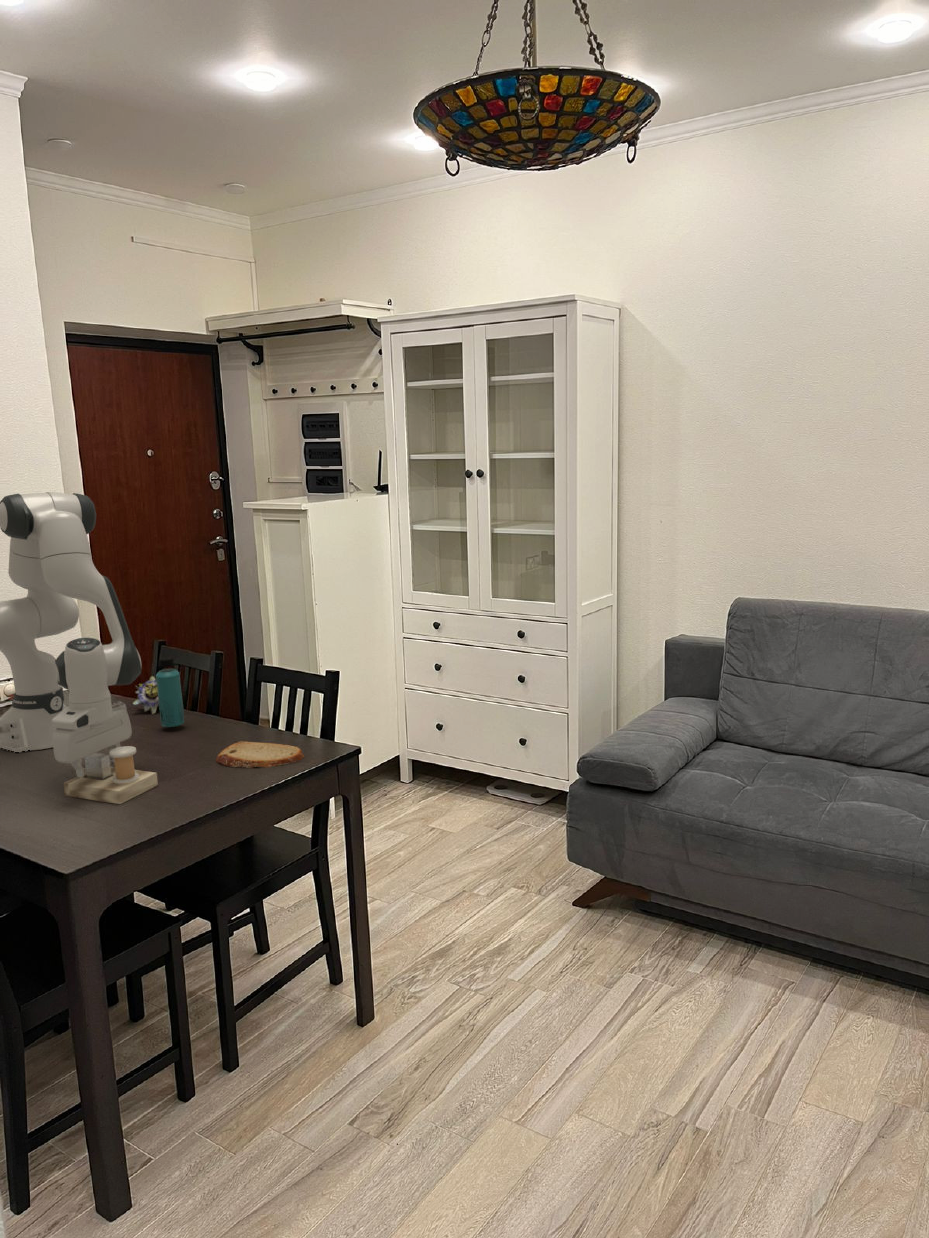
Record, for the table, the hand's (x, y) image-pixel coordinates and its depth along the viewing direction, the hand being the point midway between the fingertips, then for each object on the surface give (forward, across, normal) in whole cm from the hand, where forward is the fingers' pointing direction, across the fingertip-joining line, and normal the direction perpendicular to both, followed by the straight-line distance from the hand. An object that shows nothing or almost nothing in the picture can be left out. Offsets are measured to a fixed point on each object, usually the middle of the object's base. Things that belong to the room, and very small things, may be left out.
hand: (97, 769), depth 215 cm
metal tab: (+5, 0, 0) cm, 5 cm away
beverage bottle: (+5, -42, -14) cm, 45 cm away
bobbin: (+2, 0, +8) cm, 8 cm away
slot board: (+5, 0, +4) cm, 6 cm away
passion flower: (+5, -56, -32) cm, 65 cm away
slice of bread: (+5, -29, +23) cm, 37 cm away
